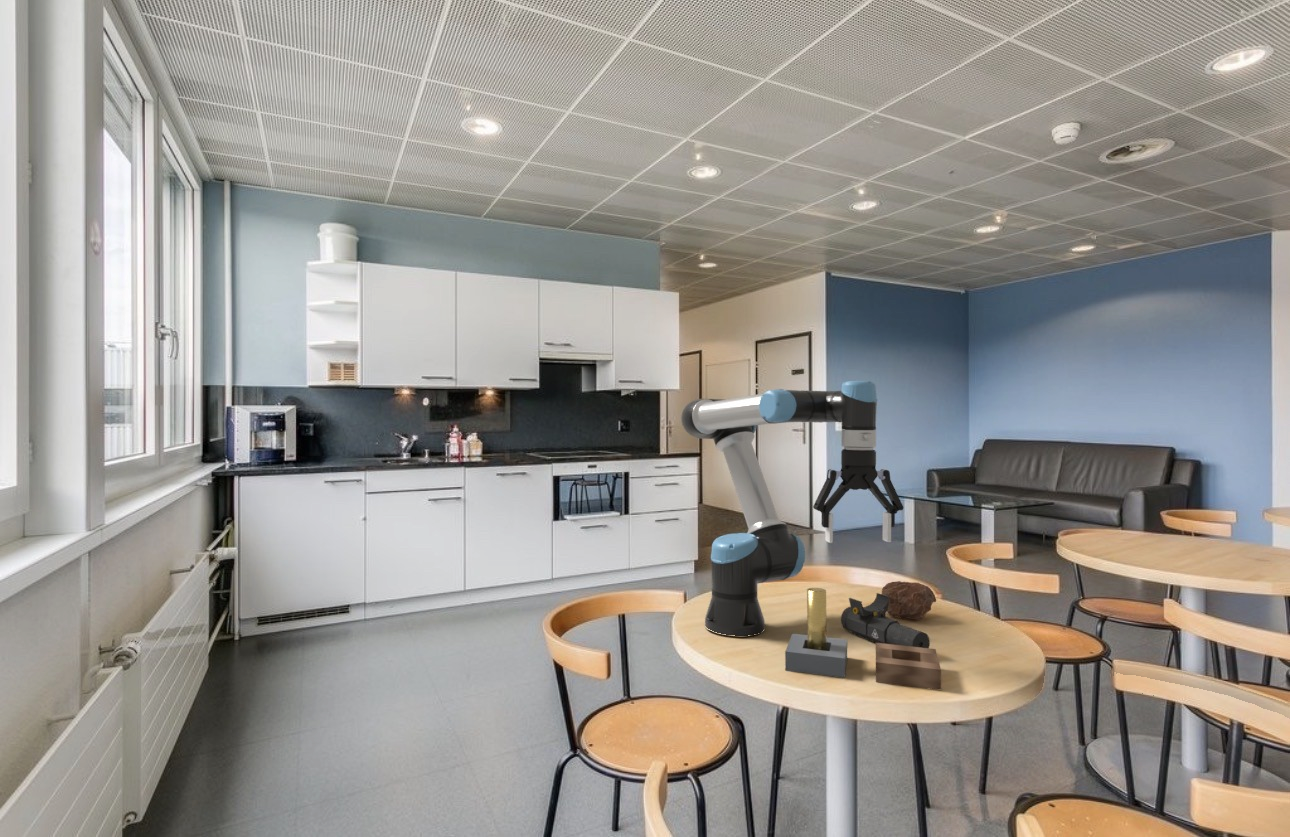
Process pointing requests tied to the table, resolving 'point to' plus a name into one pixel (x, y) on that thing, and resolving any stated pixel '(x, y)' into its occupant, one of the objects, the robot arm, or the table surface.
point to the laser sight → (880, 624)
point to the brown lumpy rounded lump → (908, 599)
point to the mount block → (816, 657)
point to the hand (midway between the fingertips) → (857, 541)
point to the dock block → (907, 666)
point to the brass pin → (816, 619)
